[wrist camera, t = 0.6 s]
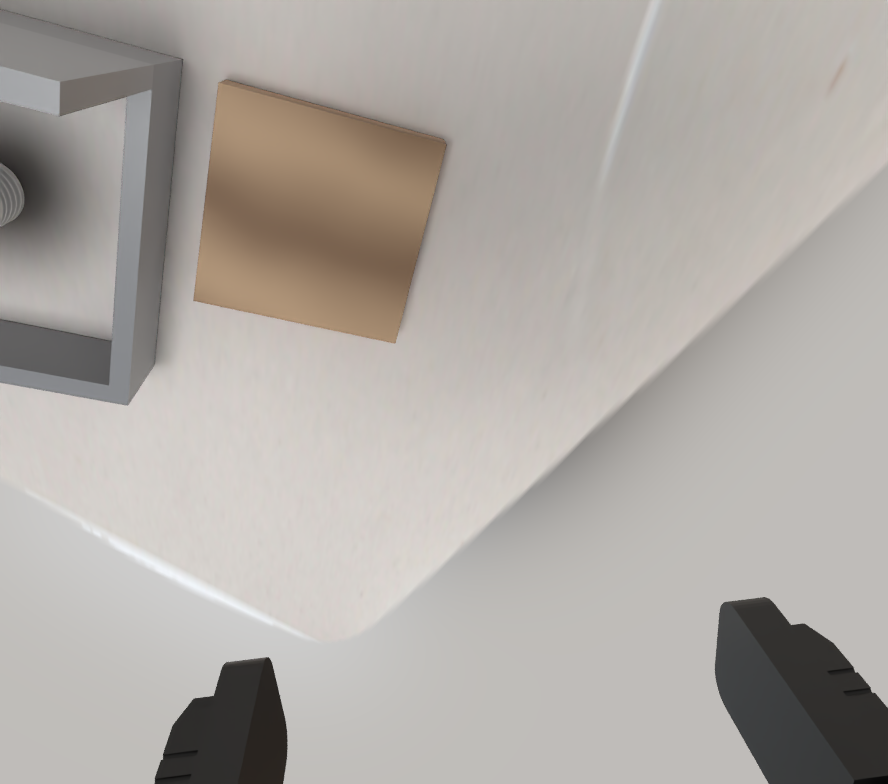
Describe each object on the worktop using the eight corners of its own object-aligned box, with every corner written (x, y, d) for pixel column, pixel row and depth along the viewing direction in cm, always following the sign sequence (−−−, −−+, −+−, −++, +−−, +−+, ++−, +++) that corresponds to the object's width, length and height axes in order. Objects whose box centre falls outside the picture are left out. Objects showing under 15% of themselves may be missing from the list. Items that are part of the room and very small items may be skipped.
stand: (226, 79, 28) (218, 82, 26) (443, 139, 30) (446, 144, 28) (201, 289, 32) (193, 300, 30) (394, 330, 33) (395, 343, 32)
